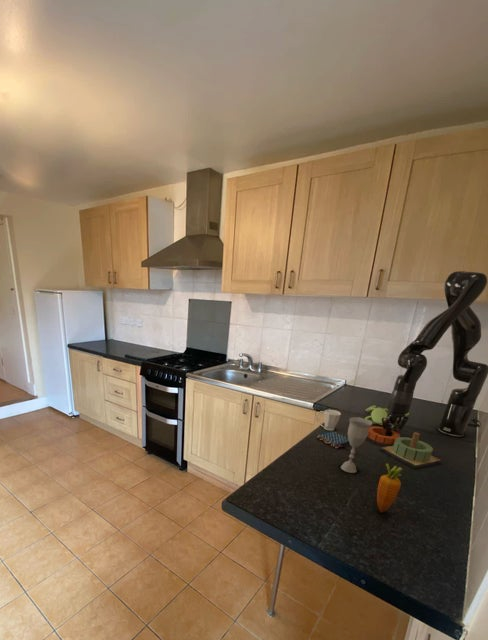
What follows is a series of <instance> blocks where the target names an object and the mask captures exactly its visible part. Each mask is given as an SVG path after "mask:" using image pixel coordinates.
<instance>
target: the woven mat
mask: <svg viewBox="0 0 488 640" xmlns="http://www.w3.org/2000/svg"><path fill="white" fill-rule="evenodd" d="M316 438H317V439H319V441H322V442H324V443H325V444H328V445H330V447H333V448H335V449H338V448H343V447H345V446H344V444H347V443H349V439H348V436H345V435H342V434H340V433H338V432H337V431H325V432H322V433H317V435H316Z"/></svg>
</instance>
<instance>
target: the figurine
mask: <svg viewBox="0 0 488 640" xmlns="http://www.w3.org/2000/svg"><path fill="white" fill-rule="evenodd" d="M370 411H371V413H370V415H367V416H365V418H364V419H366V420H369V421H371V422H372V425H379V426H380V427H383V424H382V418H386V417H387V415H388V412H389V410H388V408H382V407H377V405H371V406H369V407H367V408H366V409H365V412H367V413H369V412H370ZM409 415H410V413H409V412H408V413H407V414H405V416H406V417H409ZM357 418H361V416H358V417H357Z"/></svg>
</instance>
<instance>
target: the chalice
mask: <svg viewBox="0 0 488 640" xmlns="http://www.w3.org/2000/svg"><path fill="white" fill-rule="evenodd" d="M348 420H349V425H348V429H347V438H348V439H349V442H348V443H349V446H351V450H350V454H349V455H348V457H349V459H348V460H346V461H344V462H343V463H342V465H341V466H340V469H341V470H342V471H344V472H346V473H350V474H354V473H355V474H356V473H357V466H356V464H355V462H353V460H354V459H355V454H356V448H360V447H361V446H362V444H363V443H364V442H365V441H366V439H367V438H368V437H367V435H368V432H369V428H370V427H371V426H373V423H372V422H371V421H369V420H370V419H367V420H366V419H365V418H363V417H360V418H358V417H355V416H354V417H349V419H348Z"/></svg>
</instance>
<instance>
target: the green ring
mask: <svg viewBox="0 0 488 640" xmlns="http://www.w3.org/2000/svg"><path fill="white" fill-rule="evenodd" d="M411 440H412V437H406V436H400V437H399V438H396V439H395V442H394V444H392V446H393V449H392V450H393V451H394V452H395V453H397V454H398V455H399V456H401V457H405V458H406V459H410V460H415V461H420V462H425V461H429V460H430V457H431V455H432V454H433V451H434V448H433V447H432V446H431V445H430V444H428V443H426V442H424V441H422V440H419V439H418V442H417V445H416V448H411V447H409V446H410V443H411Z"/></svg>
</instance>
